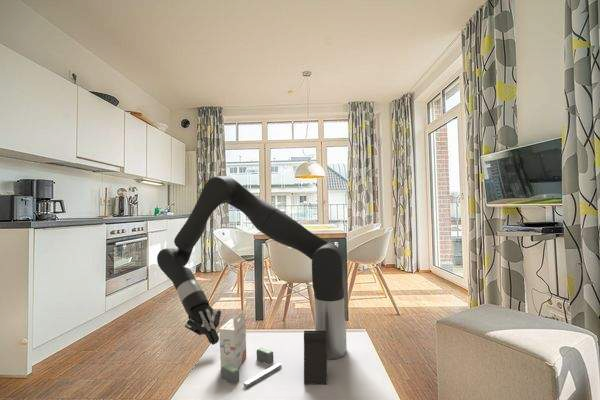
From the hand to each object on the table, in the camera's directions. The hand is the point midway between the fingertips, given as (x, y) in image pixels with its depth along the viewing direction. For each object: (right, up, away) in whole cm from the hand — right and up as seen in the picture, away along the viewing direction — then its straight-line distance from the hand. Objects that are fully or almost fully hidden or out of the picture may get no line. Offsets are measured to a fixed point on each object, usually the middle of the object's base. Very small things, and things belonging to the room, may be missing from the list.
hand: (215, 342), depth 104 cm
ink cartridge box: (+7, -4, -5) cm, 9 cm away
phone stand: (+30, -4, -13) cm, 33 cm away
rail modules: (+12, -4, -9) cm, 15 cm away
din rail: (+16, -4, -13) cm, 21 cm away
